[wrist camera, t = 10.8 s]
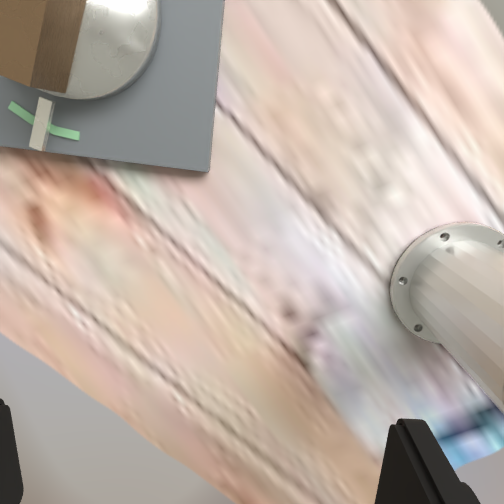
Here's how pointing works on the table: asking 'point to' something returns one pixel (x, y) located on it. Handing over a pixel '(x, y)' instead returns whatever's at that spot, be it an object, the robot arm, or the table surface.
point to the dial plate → (138, 101)
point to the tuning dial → (76, 49)
